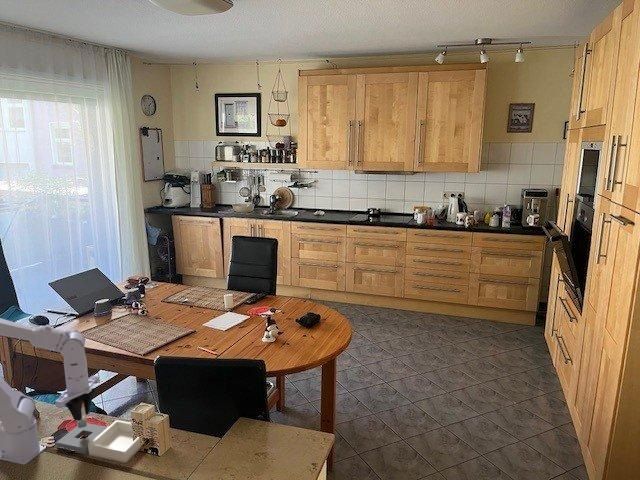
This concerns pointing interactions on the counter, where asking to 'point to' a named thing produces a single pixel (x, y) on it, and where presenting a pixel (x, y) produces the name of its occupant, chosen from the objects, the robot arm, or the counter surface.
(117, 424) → the tray
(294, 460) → the counter surface
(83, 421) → the lock pin
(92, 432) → the lock plate
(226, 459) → the counter surface
